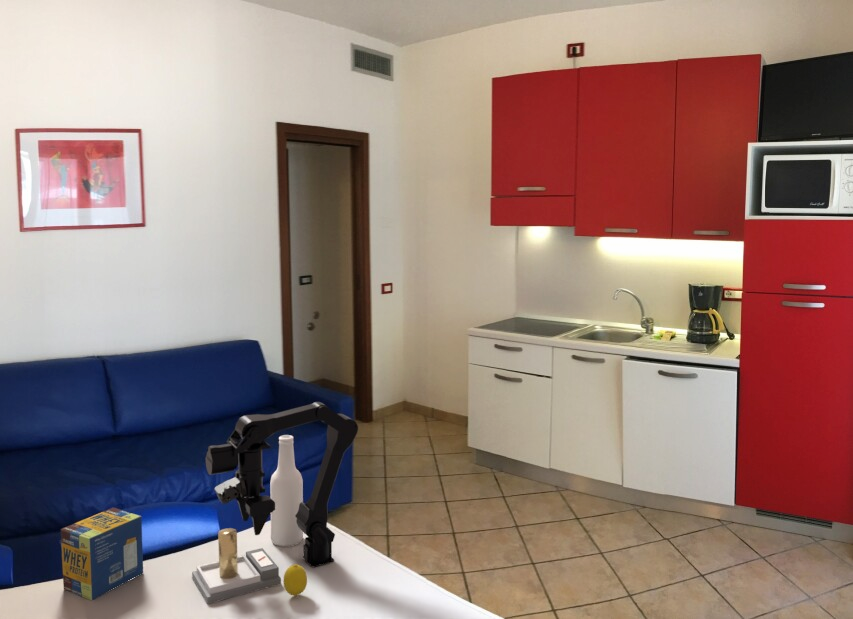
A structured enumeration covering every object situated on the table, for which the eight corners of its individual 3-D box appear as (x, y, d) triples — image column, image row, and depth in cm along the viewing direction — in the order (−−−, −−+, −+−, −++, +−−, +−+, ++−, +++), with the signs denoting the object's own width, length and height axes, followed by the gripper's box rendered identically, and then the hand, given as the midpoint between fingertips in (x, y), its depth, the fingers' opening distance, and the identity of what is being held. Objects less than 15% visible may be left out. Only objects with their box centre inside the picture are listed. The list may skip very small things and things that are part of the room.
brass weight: (234, 568, 181) (233, 526, 179) (240, 576, 177) (239, 533, 175) (217, 572, 178) (216, 530, 177) (222, 580, 175) (221, 537, 173)
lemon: (302, 603, 169) (301, 571, 168) (279, 600, 170) (279, 568, 169) (310, 591, 174) (310, 560, 173) (288, 588, 176) (288, 557, 175)
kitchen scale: (192, 577, 180) (191, 561, 179) (262, 560, 189) (261, 545, 189) (207, 603, 168) (207, 586, 168) (281, 584, 178) (280, 567, 177)
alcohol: (307, 543, 200) (307, 438, 196) (277, 550, 195) (276, 443, 192) (295, 531, 207) (295, 430, 204) (266, 538, 203) (265, 434, 199)
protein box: (62, 590, 173) (59, 528, 171) (116, 563, 187) (114, 506, 185) (91, 601, 168) (88, 538, 166) (144, 573, 182) (142, 514, 180)
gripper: (207, 461, 181) (208, 520, 183) (229, 485, 165) (230, 550, 167) (250, 454, 187) (251, 511, 189) (275, 477, 171) (276, 539, 173)
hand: (251, 527), depth 179 cm, fingers open, 9 cm apart
